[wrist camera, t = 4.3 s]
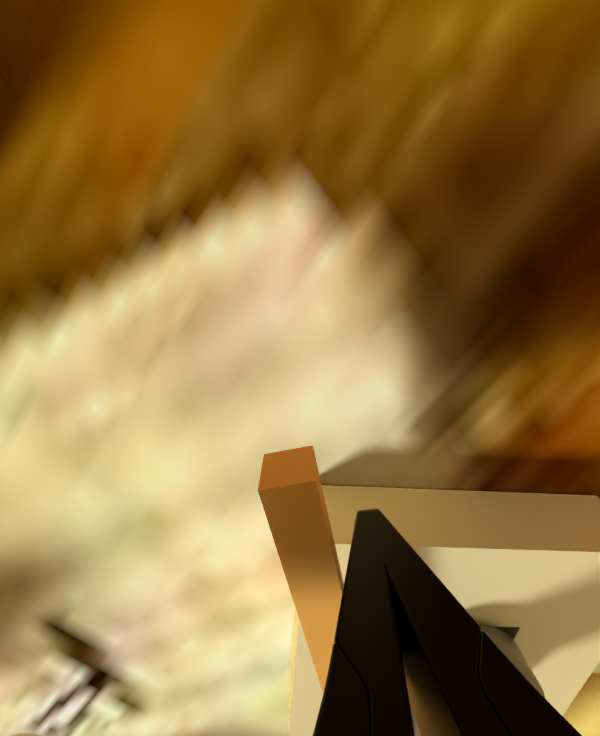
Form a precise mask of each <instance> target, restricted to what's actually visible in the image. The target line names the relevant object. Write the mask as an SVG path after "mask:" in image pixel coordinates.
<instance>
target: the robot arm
mask: <svg viewBox="0 0 600 736" xmlns="http://www.w3.org/2000/svg"><path fill="white" fill-rule="evenodd" d="M409 699H410V702H411V706H412V709H413V712H414V715H415V719H416V722H417V725H418V728H419V732H420V735H421V736H582V735H581V734H580V733H579V732H578V731H577V730H576V729H575V728H574V727H573V726H572V725H571V724H570V723H569V722H568V721H567V720H566V719H565V718H564V717H563V716H562V715H561V714H560V713H559V712H558V711H557V710H556V709H555V708H554V707H553V706H552V705H551V704H550V703H549V702H548V701H547V700H546V699H545V698H544V697H543V696H542V695H541V693H540V692H539V691H538V690H537V689H536V688H535V687H534V686H533V685H532V684H531V683H530V682H529V681H528V680H527V679H526V678H525V677H524V676H523V674H522V673H521V672H520V671H519V670H518V669H517V668H516V667H515V666H514V664H513V663H512V662H511V661H510V660H509V659H508V658H507V657H506V656H505V654H504V653H503V652H502V651H501V650H500V649H499V648H498V646H497V645H496V644H495V643H494V642H493V641H492V639H491V638H490V637H489V636H488V635H487V634H486V632H484V631H481V627H480V626H479V625H478V623H477V622H476V621H475V620H474V619H473V618H472V616H471V615H470V614H469V613H468V612H467V611H466V609H465V608H464V607H463V606H462V605H461V604H460V603H459V601H458V600H457V599H456V598H455V597H454V596H453V594H452V593H451V592H450V591H449V590H448V589H447V587H446V586H445V585H444V584H443V583H442V582H441V580H440V579H439V578H438V577H437V576H436V575H435V573H434V572H433V571H432V570H431V569H430V568H429V567H428V565H427V564H426V563H425V562H424V561H423V560H422V558H421V557H420V556H419V555H418V554H417V553H416V551H415V550H414V549H413V548H412V547H411V546H410V544H409V543H408V542H407V541H406V540H405V539H404V537H403V536H402V535H401V534H400V533H399V532H398V531H397V529H396V528H395V527H394V526H393V525H392V524H391V522H390V521H389V520H388V519H387V518H386V517H385V515H384V514H383V513H382V512H381V511H380V510H379V509H377V508H375V509H366V510H358V511H357V514H356V520H355V525H354V531H353V536H352V542H351V548H350V553H349V559H348V564H347V570H346V576H345V581H344V587H343V592H342V598H341V604H340V609H339V615H338V620H337V626H336V632H335V637H334V644H333V647H332V653H331V658H330V664H329V669H328V674H327V678H326V683H325V688H324V693H323V697H322V701H321V705H320V709H319V713H318V717H317V720H316V724H315V728H314V732H313V736H415V733H414V727H413V721H412V715H411V708H410V702H409Z"/></svg>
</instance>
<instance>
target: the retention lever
mask: <svg viewBox="0 0 600 736" xmlns="http://www.w3.org/2000/svg"><path fill="white" fill-rule="evenodd" d="M258 492H259V495H260V498H261V501H262V504H263V508H264V511H265V514H266V517H267V520H268V523H269V526H270V529H271V532H272V535H273V539H274V542H275V545H276V548H277V551H278V554H279V557H280V560H281V563H282V567H283V570H284V573H285V576H286V579H287V582H288V585H289V588H290V591H291V595H292V598H293V601H294V604H295V607H296V610H297V613H298V616H299V619H300V622H301V626H302V629H303V632H304V635H305V638H306V641H307V644H308V647H309V650H310V654H311V657H312V660H313V663H314V666H315V669H316V672H317V675H318V678H319V682H320V685H321V688H322V691H323V693H324V688H325V683H326V678H327V674H328V669H329V664H330V658H331V653H332V647H333V644H334V637H335V632H336V626H337V620H338V615H339V609H340V604H341V598H342V592H343V587H344V582H343V578H342V573H341V569H340V564H339V560H338V556H337V551H336V547H335V542H334V538H333V534H332V529H331V525H330V520H329V516H328V511H327V507H326V503H325V498H324V494H323V489H322V485H321V481H320V476H319V472H318V467H317V463H316V458H315V454H314V450H313V446H307V447H302V448H296V449H291V450H285V451H280V452H275V453H269V454H264V458H263V464H262V470H261V476H260V482H259V488H258Z"/></svg>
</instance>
